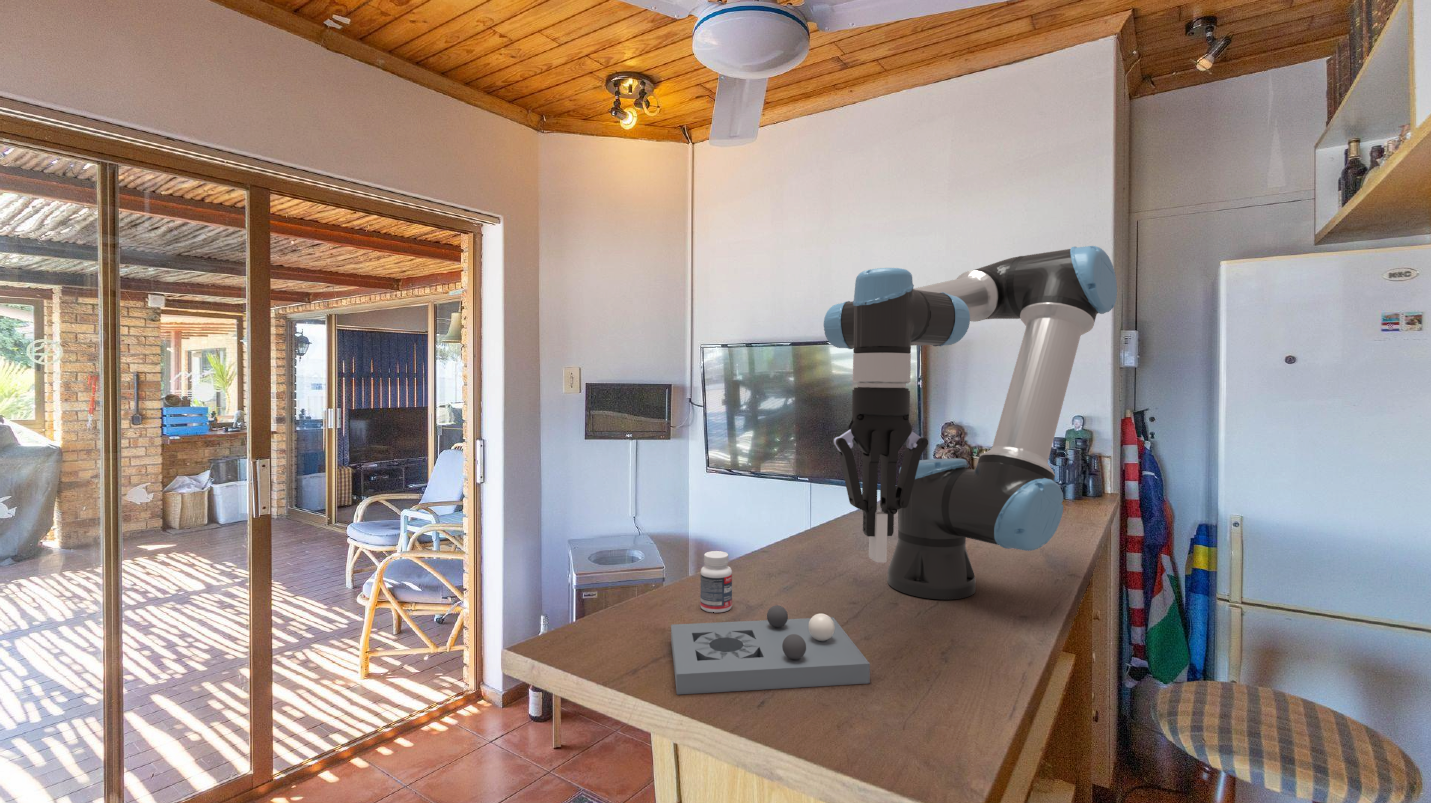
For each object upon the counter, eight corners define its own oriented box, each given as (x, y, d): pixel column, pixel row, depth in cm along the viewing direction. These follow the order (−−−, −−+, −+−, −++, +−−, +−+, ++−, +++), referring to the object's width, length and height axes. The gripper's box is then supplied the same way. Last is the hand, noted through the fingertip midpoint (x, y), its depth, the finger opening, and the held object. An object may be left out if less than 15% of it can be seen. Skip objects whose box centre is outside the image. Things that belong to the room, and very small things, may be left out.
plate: (833, 633, 93) (833, 617, 93) (869, 683, 78) (869, 663, 78) (671, 641, 90) (671, 624, 90) (676, 694, 75) (676, 674, 75)
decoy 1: (785, 622, 91) (785, 601, 91) (790, 630, 88) (790, 609, 88) (764, 623, 90) (765, 602, 90) (769, 631, 87) (769, 610, 87)
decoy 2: (802, 652, 81) (802, 629, 81) (808, 663, 78) (809, 639, 78) (779, 653, 81) (780, 630, 80) (785, 664, 78) (785, 640, 77)
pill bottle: (728, 614, 100) (728, 559, 100) (697, 612, 101) (697, 558, 101) (734, 602, 105) (734, 550, 105) (704, 600, 106) (704, 549, 106)
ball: (830, 633, 87) (830, 609, 87) (837, 644, 83) (838, 618, 83) (805, 635, 86) (805, 610, 86) (812, 646, 83) (812, 620, 83)
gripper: (915, 386, 89) (911, 551, 89) (825, 385, 87) (822, 553, 88) (940, 386, 81) (936, 566, 82) (842, 385, 80) (839, 569, 81)
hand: (877, 559), depth 85 cm, fingers closed
